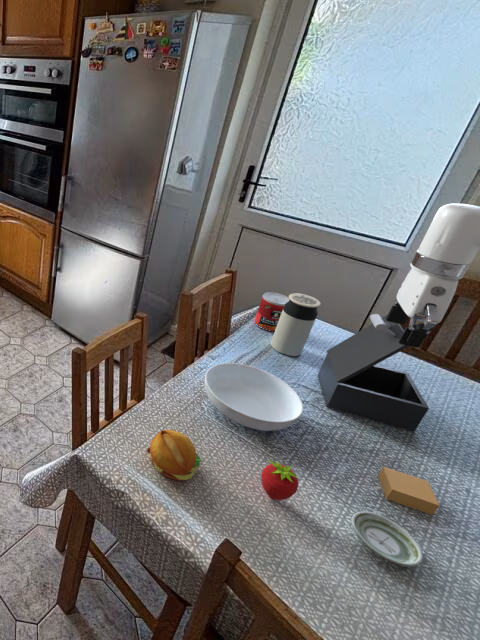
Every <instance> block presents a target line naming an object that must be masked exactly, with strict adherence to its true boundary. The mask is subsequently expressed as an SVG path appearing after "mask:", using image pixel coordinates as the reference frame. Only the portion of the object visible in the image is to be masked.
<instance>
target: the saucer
mask: <svg viewBox="0 0 480 640" xmlns="http://www.w3.org/2000/svg"><path fill="white" fill-rule="evenodd" d="M350 523H351V527H352V529H353V531H354V533H355V535H356V536H357V537H358V538H359V540H360V541H361V542H362V543H363V544H364V545H365V546H366V547H367V548H369V550H371V551H372V552H373V553H374V554H376V555H377V556H379V557H381V558H383V559H385V560H386V561H389V562H392V563H393V564H396V565H399V566H403V567H417V566H419V565H420V564H421V563H422V562H423V560H424V553H423V551H422V548H421V547H420V545H419V544H418V542H417V541H416V540H415V538H414V537H413V536H412V535H411V534H410V533H409V532H408V531H407V530H405V529H404V528H403V527H402V526H400V525H399V524H397V523H396V522H394V521H393V520H391V519H389V518H387V517H386V516H383V515H380V514H379V513H375V512H371V511H363V510H362V511H357V512H355V513H353V515H352V516H351V521H350Z"/></svg>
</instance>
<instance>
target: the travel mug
mask: <svg viewBox="0 0 480 640" xmlns="http://www.w3.org/2000/svg"><path fill="white" fill-rule="evenodd" d="M288 298H289V301H288V302H287V303H285V305H284V308H283V311H282V313H281V316H280V319H279V321H278V324H277V327H276V329H275V332H273V335H272V337H271V340H270V344H269V345H270V346H271V347H272V349H273V350H275V351H277V352H278V353H281V354H283V355H287V356H290V357H297V356H300V355H302V353H303V350H304V348H305V346H306V344H307V341H308V339H309V336H310V334H311V331H312V329H313V327H314V324H315V323H316V320H317V317H318V314H319V312H318V308H319V307H321V302H320V301H319V300H318V299H317V298H315V297H314V296H311V295H308V294H304V293H297V292H295V293H290V294H289V295H288Z"/></svg>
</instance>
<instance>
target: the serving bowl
mask: <svg viewBox="0 0 480 640" xmlns="http://www.w3.org/2000/svg"><path fill="white" fill-rule="evenodd" d="M204 389H205V393H206V395H207V398H208V399H209V401H210V403H212V405H213V406H214V407H215V408H216V410H217V411H219V412H220V413H221V414H222V415H224V416H225V417H226V418H228V419H229V420H231V421H233V422H235V423H237V424H239V425H241V426H244V427H245V428H249V429H253V430H258V431H264V432H265V431H266V432H273V431H281V430H284V429H287V428H289V427H291V426H293V425H294V424H295V423H297V422H298V420H299V419H300V418H301V416H302V415H303V413H304V403H303V400H302V399H301V397H300V395H299V394H298V392H296V391H295V389H294V388H292V386H290V385H289V384H288V383H287V382H286V381H284V380H282V379H281V378H280V377H278V376H276V375H275V374H272V373H271V372H268V371H266V370H265V369H261V368H258V367H255V366H253V365H248V364H243V363H236V362H223V363H218V364H215V365H212V366H211V367H209V368H208V369H207V370H206V372H205V374H204Z"/></svg>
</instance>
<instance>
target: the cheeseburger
mask: <svg viewBox="0 0 480 640" xmlns="http://www.w3.org/2000/svg"><path fill="white" fill-rule="evenodd" d="M193 443H194V442H193V441H192V440H191V439H190V438H189V437H188V436H187V435H186V434H184V433H182V432H180V431H176V430H174V429H173V430H172V429H164V430H160V431H159V432H158V433H157V434H156V435H154V437H153V438H152V440H151V442H150V444H149V447H148V448H147V449H146V452H147V453H148V455H149V457H150V458H149V459H150V462H151V464H152V465H153V467H154V469H156V470H157V471H158V472H159V473H160V474H162V475H163V476H165V477H166V478H169V479H170V480H174V481H175V480H176V481H180V482H181V481H187V480H190V479H192V478H193V476H194V474H195V472H196V471H197V470H198V469H199V466H200V465H201V463H202V462H203V461H202V458H201V457H200V456H199V455H198V453H197V450H196V447H195V445H194V444H193Z"/></svg>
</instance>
